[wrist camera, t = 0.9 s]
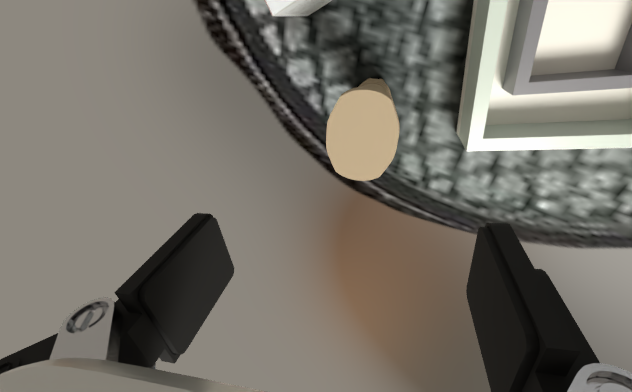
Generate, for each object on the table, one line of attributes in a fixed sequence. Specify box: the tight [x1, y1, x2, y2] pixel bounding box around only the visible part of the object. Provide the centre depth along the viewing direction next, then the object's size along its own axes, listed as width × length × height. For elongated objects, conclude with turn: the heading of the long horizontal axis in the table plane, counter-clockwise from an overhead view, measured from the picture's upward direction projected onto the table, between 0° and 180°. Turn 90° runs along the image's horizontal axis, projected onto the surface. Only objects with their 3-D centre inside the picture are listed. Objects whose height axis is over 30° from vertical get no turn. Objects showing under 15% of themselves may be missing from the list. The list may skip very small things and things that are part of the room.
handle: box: [326, 78, 399, 181], centre depth 26 cm, size 5×6×15 cm
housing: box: [456, 0, 632, 151], centre depth 23 cm, size 20×16×6 cm
